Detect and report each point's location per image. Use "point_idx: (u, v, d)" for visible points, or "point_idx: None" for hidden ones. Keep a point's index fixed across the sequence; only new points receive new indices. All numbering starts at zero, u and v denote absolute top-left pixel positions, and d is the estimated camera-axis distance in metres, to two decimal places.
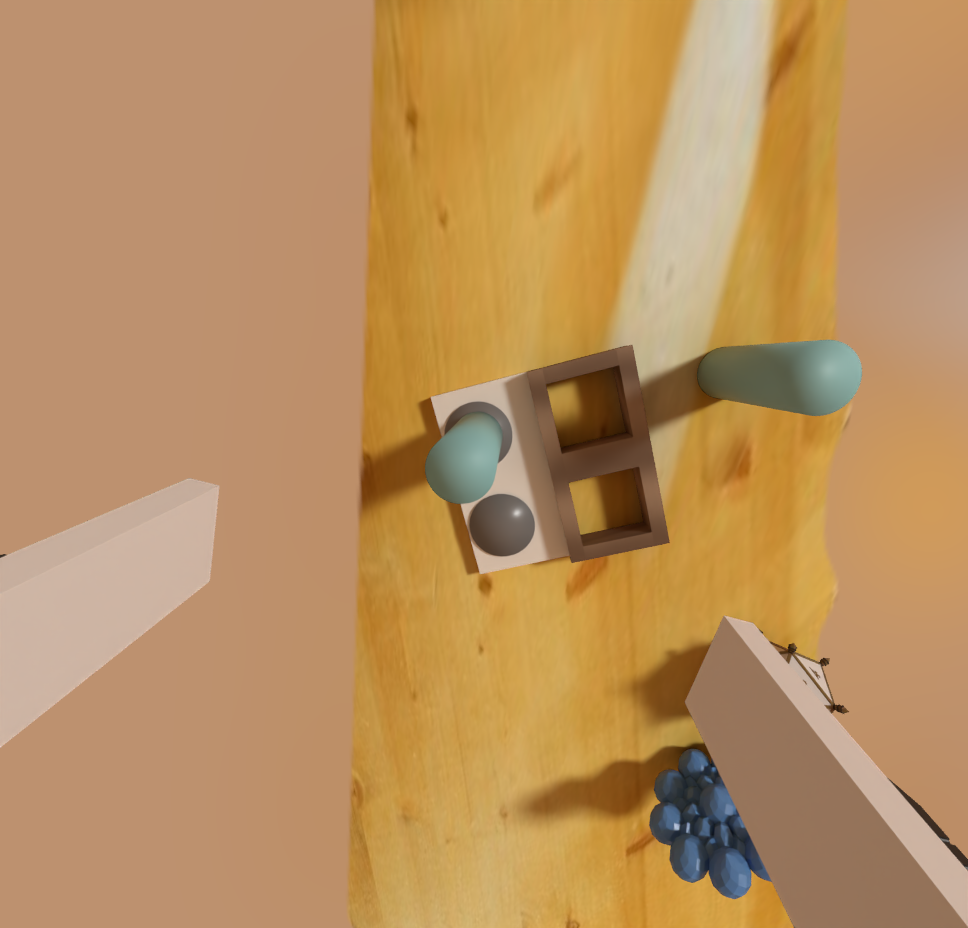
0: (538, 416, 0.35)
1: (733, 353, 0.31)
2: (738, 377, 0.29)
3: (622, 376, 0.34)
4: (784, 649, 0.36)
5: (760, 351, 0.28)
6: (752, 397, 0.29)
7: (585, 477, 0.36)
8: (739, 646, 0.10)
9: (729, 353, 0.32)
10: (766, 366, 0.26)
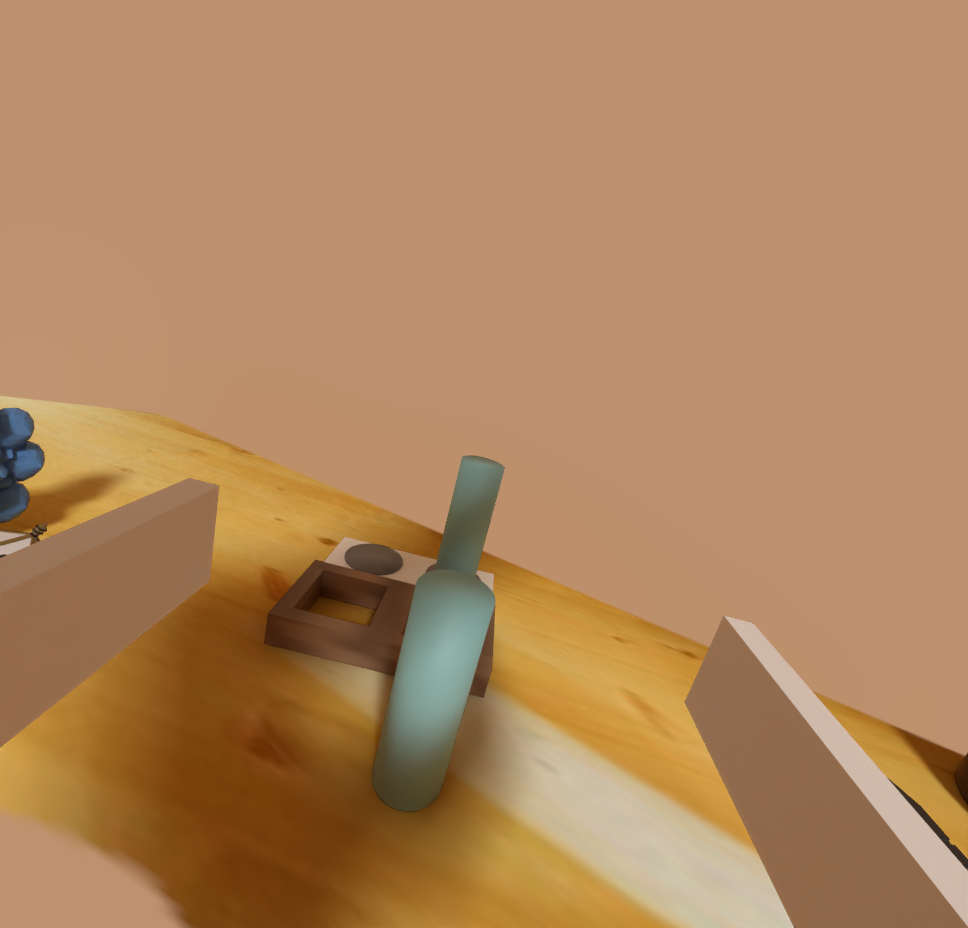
0: None
1: None
2: None
3: None
4: None
5: None
6: None
7: (385, 595, 0.37)
8: (739, 646, 0.10)
9: None
10: None
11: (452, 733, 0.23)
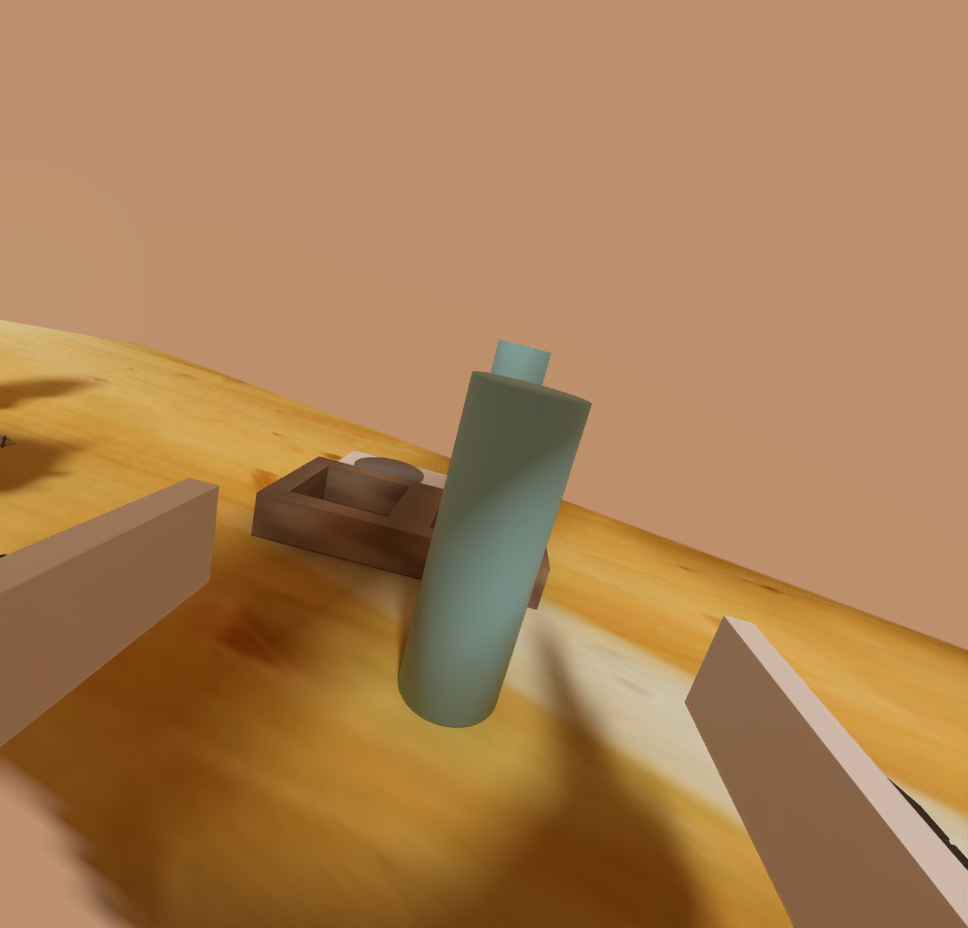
0: None
1: None
2: None
3: None
4: None
5: None
6: None
7: (406, 493, 0.29)
8: (739, 646, 0.10)
9: None
10: None
11: (520, 609, 0.16)
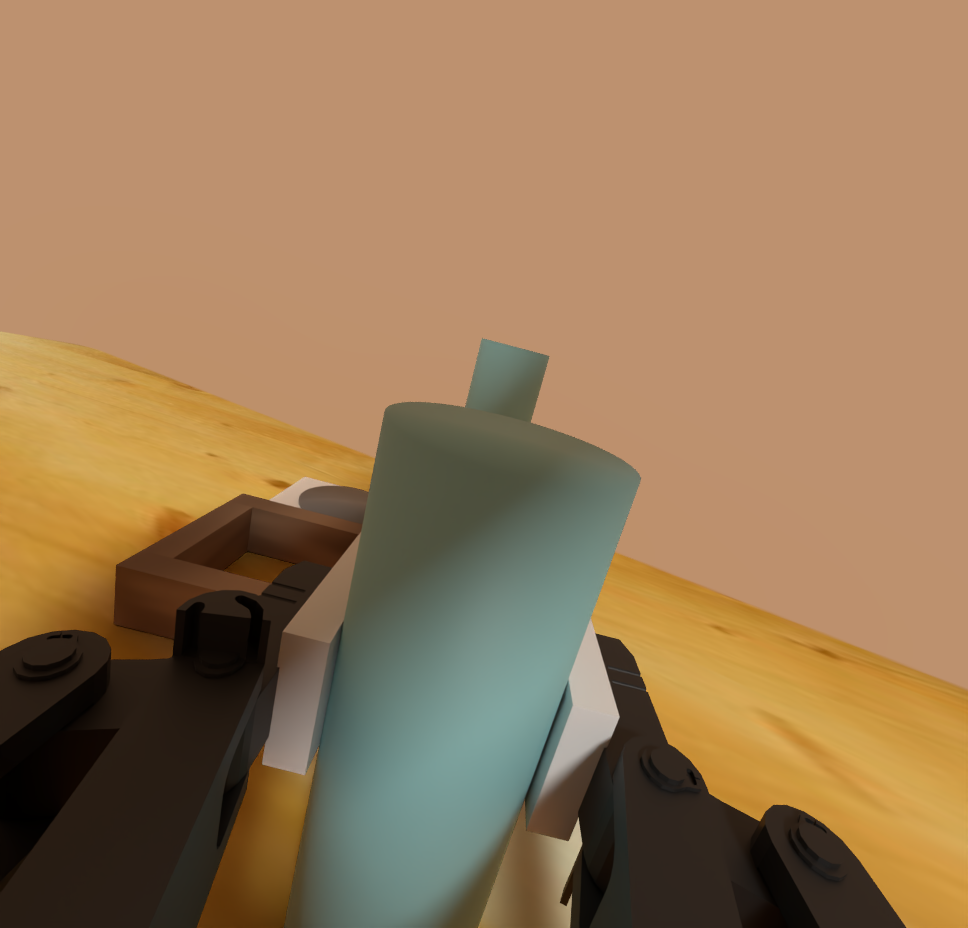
0: None
1: None
2: None
3: None
4: None
5: None
6: None
7: None
8: None
9: None
10: None
11: (493, 869, 0.08)
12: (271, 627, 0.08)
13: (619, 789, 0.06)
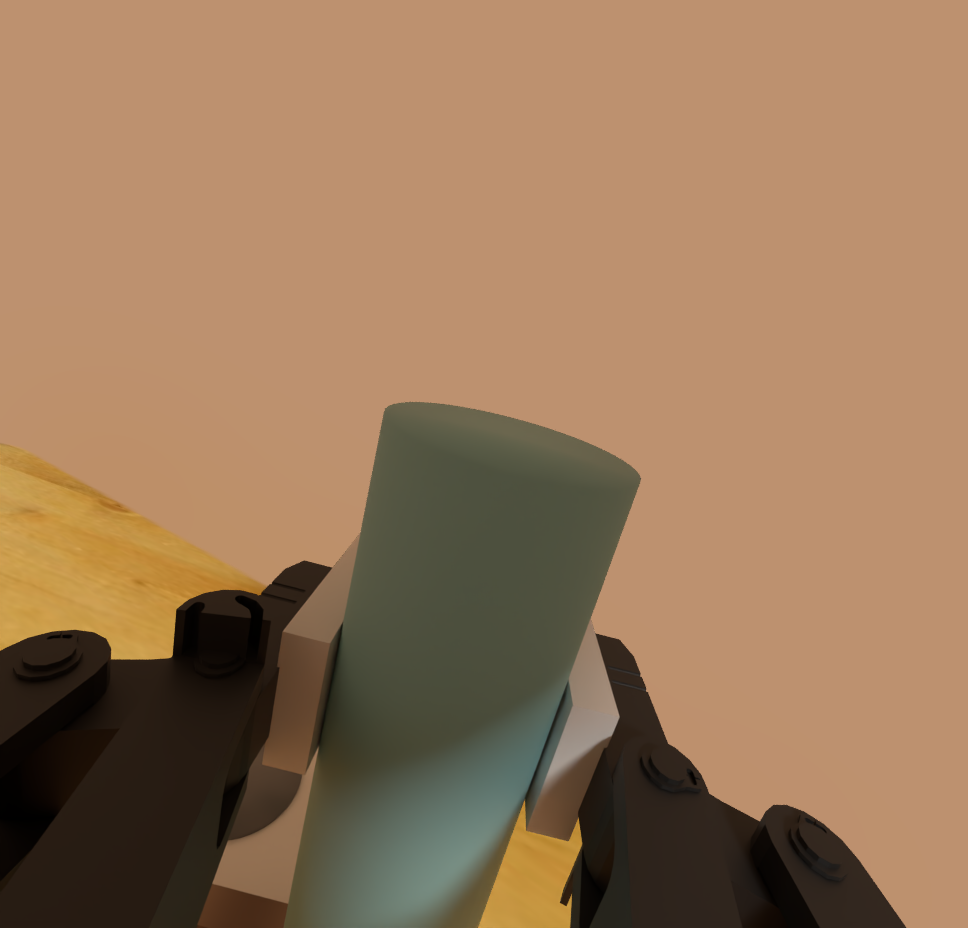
0: None
1: None
2: None
3: None
4: None
5: None
6: None
7: None
8: None
9: None
10: None
11: (494, 870, 0.08)
12: (271, 627, 0.08)
13: (619, 789, 0.06)
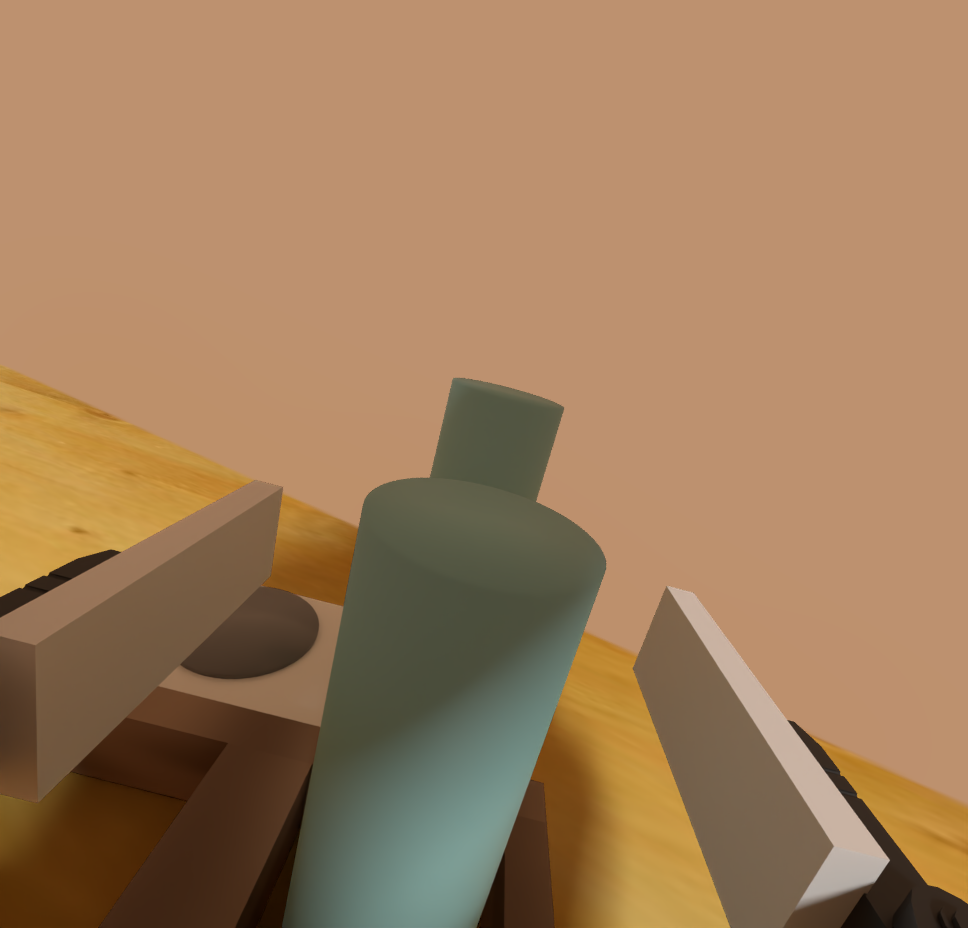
0: None
1: None
2: None
3: None
4: None
5: None
6: None
7: (198, 791, 0.11)
8: (676, 611, 0.11)
9: None
10: None
11: None
12: None
13: None
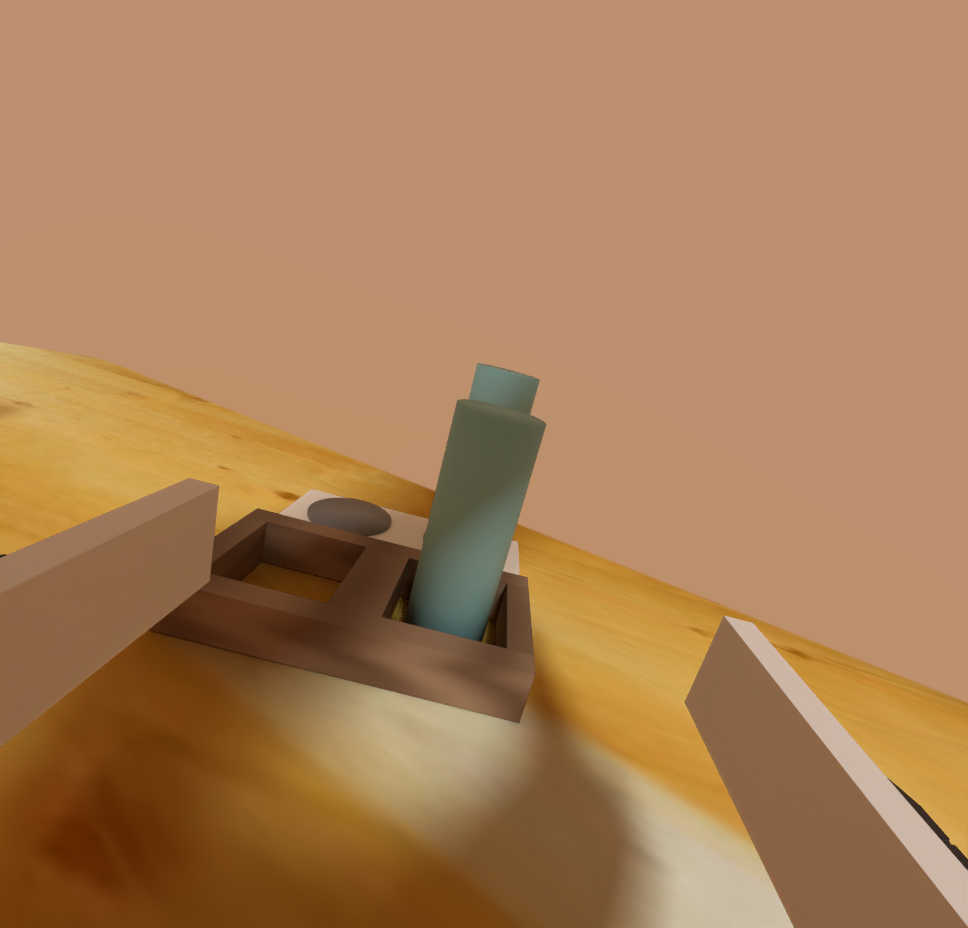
0: None
1: None
2: None
3: (487, 644, 0.20)
4: None
5: None
6: None
7: (360, 558, 0.24)
8: (739, 646, 0.10)
9: None
10: None
11: (494, 579, 0.21)
12: None
13: None
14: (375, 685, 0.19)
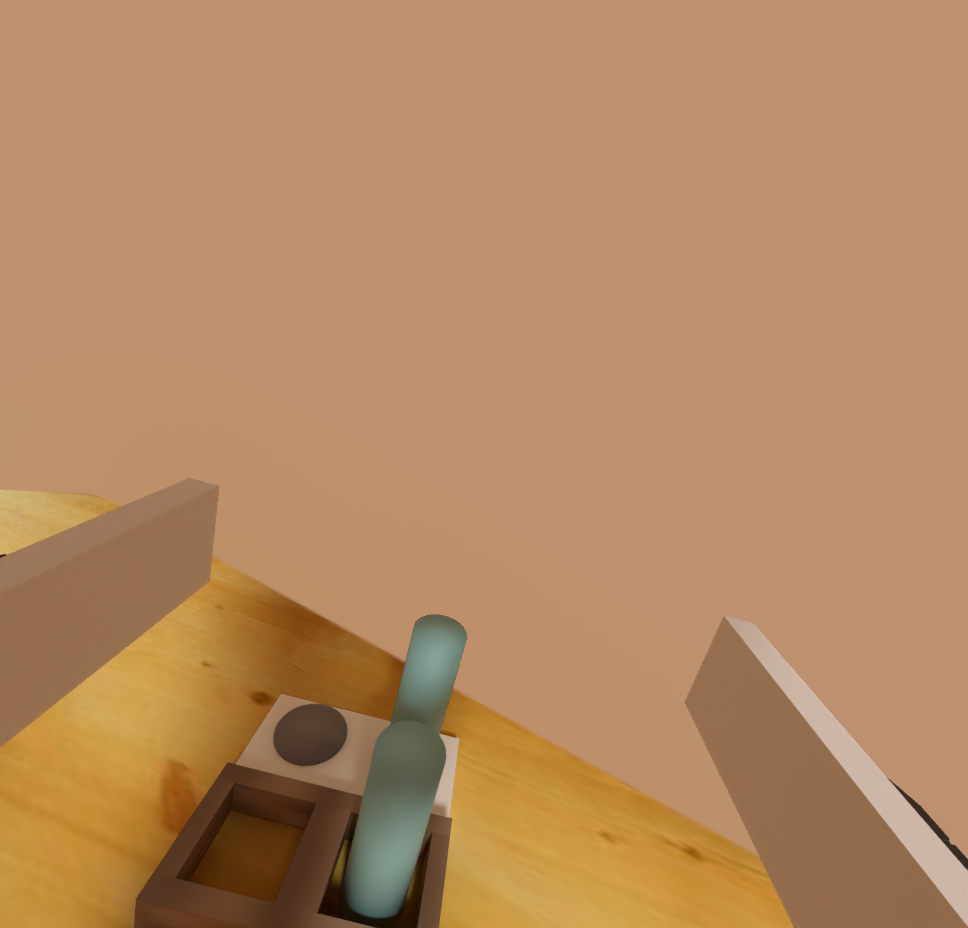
0: None
1: None
2: None
3: None
4: None
5: None
6: None
7: (308, 824, 0.29)
8: (739, 646, 0.10)
9: None
10: None
11: (408, 872, 0.26)
12: None
13: None
14: None
